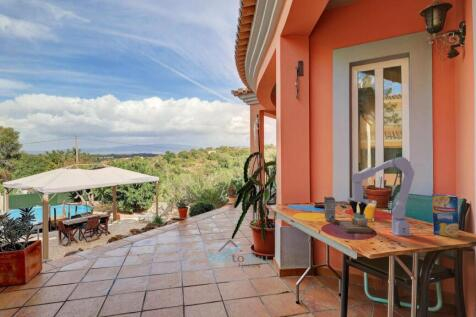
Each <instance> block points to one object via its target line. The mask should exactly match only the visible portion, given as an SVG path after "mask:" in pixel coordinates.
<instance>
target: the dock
mask: <svg viewBox="0 0 476 317" xmlns="http://www.w3.org/2000/svg"><path fill="white" fill-rule="evenodd" d="M338 226H339V227H341V228H342V229H343V230H344V231H345V232H346V233H355V234H356V233H357V234H358V233H362V234H364V233H365V234H366V233H367V234H371V233H372V232H373V228H372V227H370V225H368V224H367V225H360V226H357V225H354V224H352V220H351V219H350V220H341V219H340V220H338Z"/></svg>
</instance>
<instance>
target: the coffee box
mask: <svg viewBox="0 0 476 317" xmlns="http://www.w3.org/2000/svg"><path fill="white" fill-rule="evenodd" d="M323 200H324V220H325V221H326V222H336V199H335V197H334V196H324V199H323Z"/></svg>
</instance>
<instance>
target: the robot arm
mask: <svg viewBox="0 0 476 317" xmlns="http://www.w3.org/2000/svg"><path fill="white" fill-rule="evenodd" d="M395 167H396V168H397V169H399V170H401V172H402V173H403V179H402V182H401V185H400V189H399V193H398V196H397V200H396V203H395V206H394V207H393V208H392V210H391V215H392V216H391V229H390V230H389V232H390V233H392V234H393V235H395V236H397V237H398V236H399V237H400V236H401V237H405V236H406V237H407V236H408V237H412V234H411V231H410V230H411V229H410V227H411V226H410V223H409V221H408V220H407V216H406V211H407V210H406V205H407V202H408V197H409V194H410V191H411V188H412V187H411V186H412V184H413V180H414V177H415V176H414V175H415V170H414V168H413V166H412V165H411V162H410V161H409V159H407V158H406V157H404V156H399V157H396V158H393V159H390V160H386V161H385V162H382V163H381V164H379V165H376V166H375V167H371V166H367V167H365V169H362V170H361V171H360V170H359V171H358V172H356V173H353V175H352V176H351V181H352V197H347V202H348V203H349V205H350V207H351V209H352V213H353V214H354V213H358V211H357V210H358V207H359V213H360V215H363V214H365V210H366V208H367V206H368V205H369V204H370V200H367V199H364V187H363V185H364V184H363V181H364V180H368V179H369V178H372V177H375V175H376V173H378V172H380V171H383V170H385V169H387V168H395Z"/></svg>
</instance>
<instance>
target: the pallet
mask: <svg viewBox="0 0 476 317" xmlns="http://www.w3.org/2000/svg"><path fill="white" fill-rule="evenodd" d="M351 221H352V224H354V225H357V226H360V225H367V226H368V224H369V222H368V221H369V220H368V217H366V216H365V218H355V217H354V216H353V217H351Z"/></svg>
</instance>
